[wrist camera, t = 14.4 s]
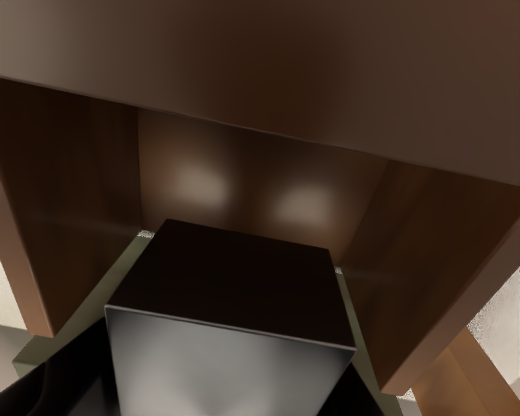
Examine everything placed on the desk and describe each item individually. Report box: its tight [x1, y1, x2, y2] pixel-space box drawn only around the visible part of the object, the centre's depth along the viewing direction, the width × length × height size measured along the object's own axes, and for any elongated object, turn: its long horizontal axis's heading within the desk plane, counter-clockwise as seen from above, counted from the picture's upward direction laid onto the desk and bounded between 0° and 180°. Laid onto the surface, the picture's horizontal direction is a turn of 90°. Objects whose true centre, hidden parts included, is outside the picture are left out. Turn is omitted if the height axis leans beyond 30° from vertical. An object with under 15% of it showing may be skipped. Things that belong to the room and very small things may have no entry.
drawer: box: [0, 78, 520, 416], centre depth 10 cm, size 18×13×7 cm
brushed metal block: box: [104, 219, 357, 416], centre depth 7 cm, size 6×4×3 cm, turn 169°
